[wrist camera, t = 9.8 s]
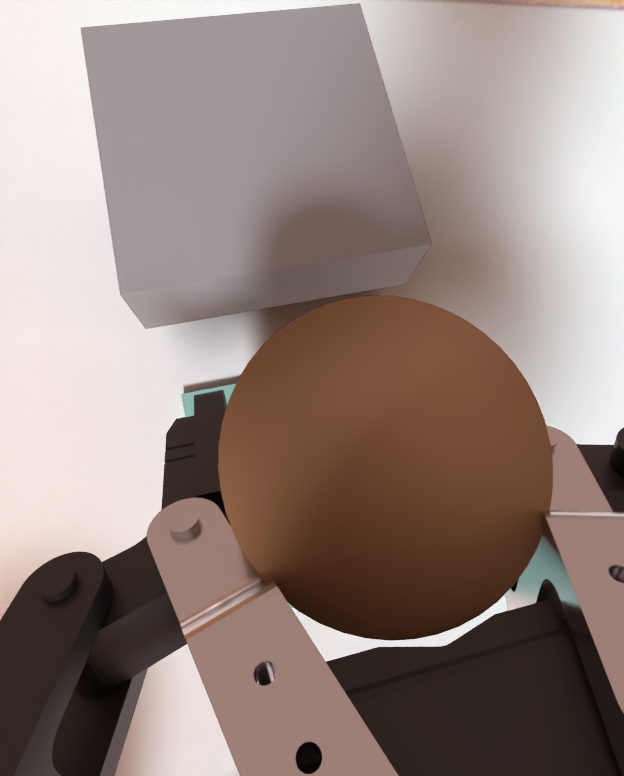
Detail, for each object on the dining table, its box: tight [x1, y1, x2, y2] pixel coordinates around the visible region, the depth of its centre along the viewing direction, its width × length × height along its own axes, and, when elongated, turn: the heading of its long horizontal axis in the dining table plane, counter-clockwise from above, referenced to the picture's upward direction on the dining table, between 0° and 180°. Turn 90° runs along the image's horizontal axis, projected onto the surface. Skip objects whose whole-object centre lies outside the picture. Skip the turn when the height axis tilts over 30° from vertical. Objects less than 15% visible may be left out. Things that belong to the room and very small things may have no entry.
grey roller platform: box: [81, 3, 432, 329], centre depth 19 cm, size 10×10×6 cm
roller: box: [218, 296, 553, 640], centre depth 11 cm, size 5×5×10 cm
